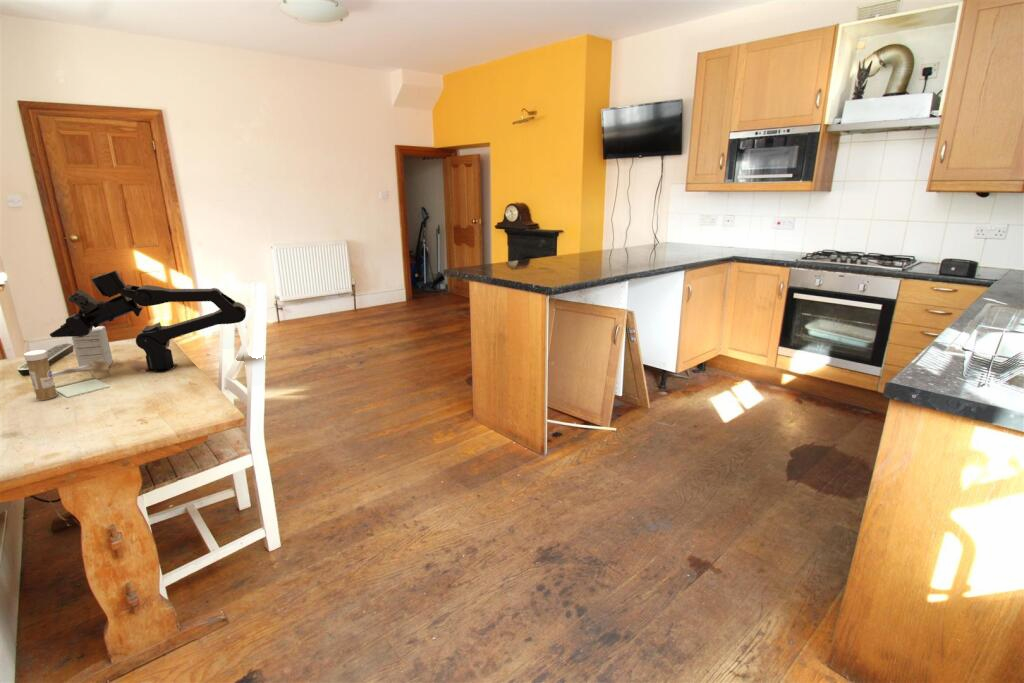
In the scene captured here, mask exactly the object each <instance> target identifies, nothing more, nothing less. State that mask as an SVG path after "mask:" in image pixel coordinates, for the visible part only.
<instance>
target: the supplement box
mask: <svg viewBox="0 0 1024 683" xmlns="http://www.w3.org/2000/svg"><path fill="white" fill-rule="evenodd" d="M92 327H93V328H92V331H91V332H90V333H89V334H88V335H86V336H83V337H78V336H74V337H71V340H72V344H73V349H74V353H75V356H76V360H77V364H78V367H79V366H84V365H89V362H91V361H94V360H98V359H103V360H106V361H107V363H108V368H109V367H110V366H111V364H113V361H114V360H113V355H112V351H111V346H110V343H109V338H108V333H107V329H106V326H104V325H100V326H98V327H96V328H95V327H94V326H92ZM86 371H91V370H90V369H87V370H86Z"/></svg>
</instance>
